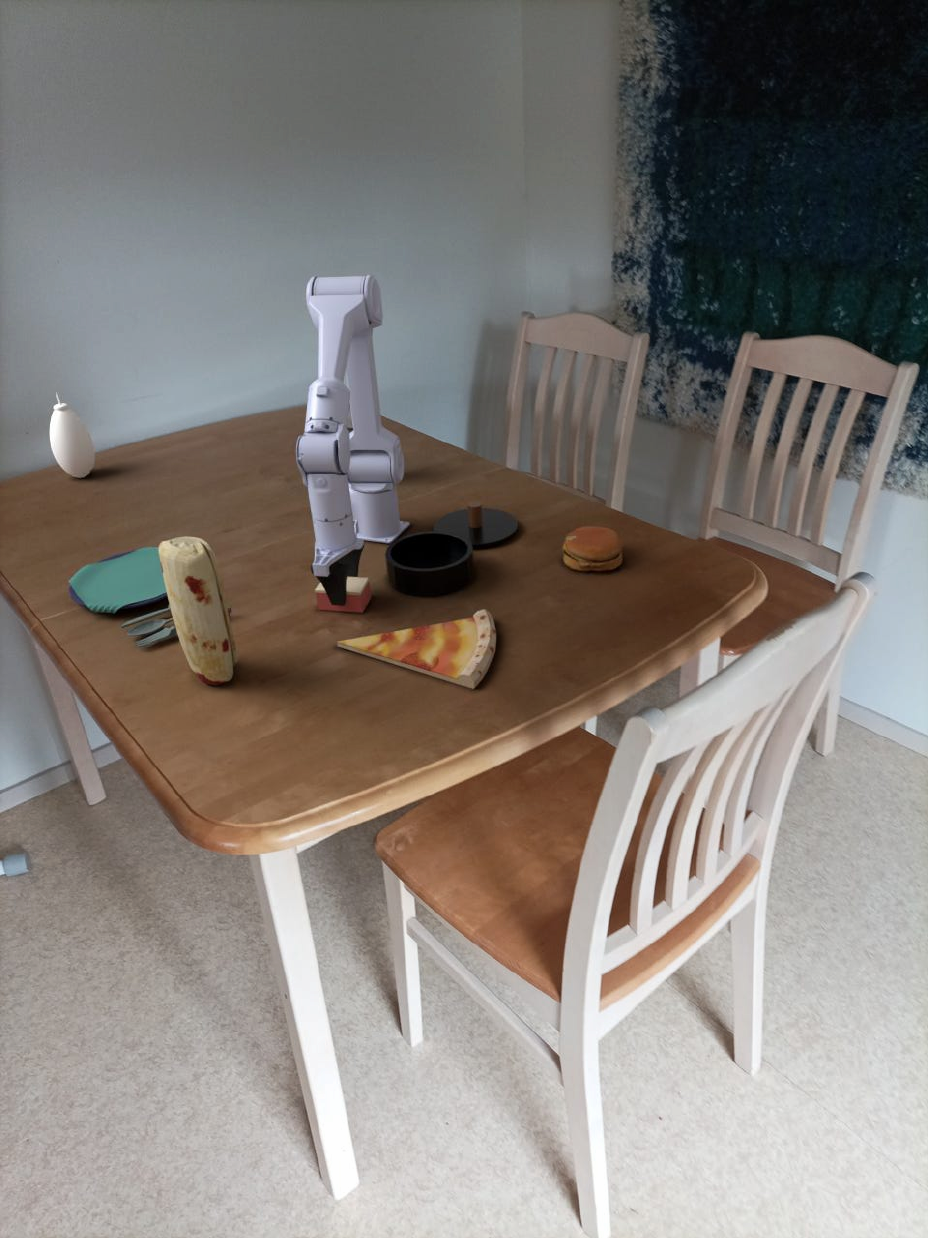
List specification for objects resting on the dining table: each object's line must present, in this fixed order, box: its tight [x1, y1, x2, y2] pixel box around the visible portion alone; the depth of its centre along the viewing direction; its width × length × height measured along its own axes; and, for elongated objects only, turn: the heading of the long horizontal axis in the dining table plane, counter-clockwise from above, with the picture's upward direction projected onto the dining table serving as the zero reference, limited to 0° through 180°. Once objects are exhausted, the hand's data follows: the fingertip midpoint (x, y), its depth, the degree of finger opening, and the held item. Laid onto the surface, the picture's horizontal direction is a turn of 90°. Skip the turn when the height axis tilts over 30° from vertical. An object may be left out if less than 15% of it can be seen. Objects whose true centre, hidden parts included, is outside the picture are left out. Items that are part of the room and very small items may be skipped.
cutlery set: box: [67, 546, 232, 649], centre depth 136 cm, size 20×30×2 cm, turn 37°
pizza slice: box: [336, 608, 497, 690], centre depth 122 cm, size 16×22×2 cm
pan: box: [384, 530, 475, 598], centre depth 137 cm, size 14×14×4 cm
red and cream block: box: [314, 576, 372, 614], centre depth 131 cm, size 7×4×4 cm, turn 78°
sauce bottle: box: [49, 391, 96, 479], centre depth 179 cm, size 8×8×18 cm
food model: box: [158, 535, 239, 686], centre depth 113 cm, size 10×7×20 cm
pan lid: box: [433, 500, 519, 548], centre depth 150 cm, size 15×15×5 cm
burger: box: [561, 525, 624, 572], centre depth 139 cm, size 10×9×5 cm
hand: (343, 595), depth 132 cm, fingers closed on red and cream block, 4 cm apart
